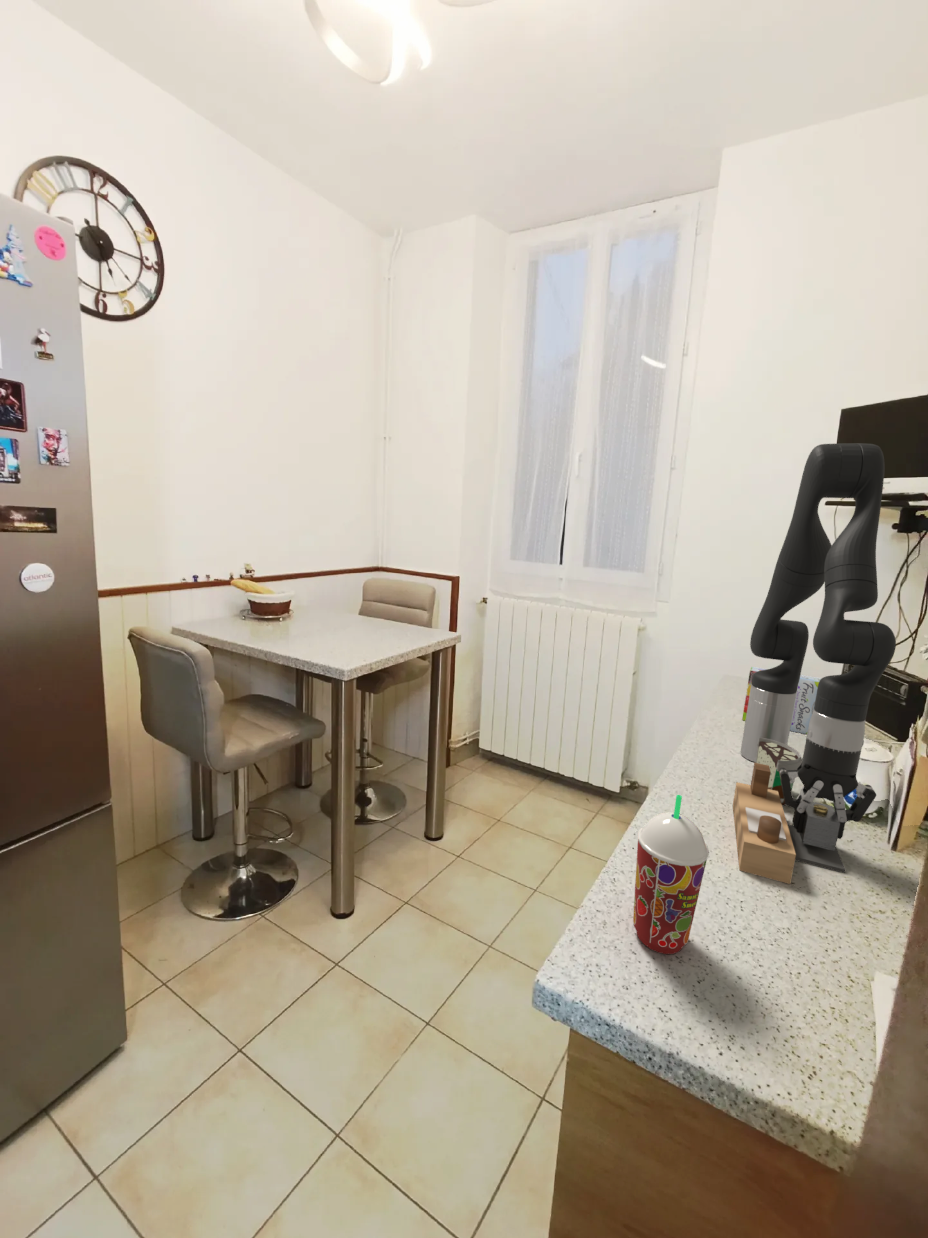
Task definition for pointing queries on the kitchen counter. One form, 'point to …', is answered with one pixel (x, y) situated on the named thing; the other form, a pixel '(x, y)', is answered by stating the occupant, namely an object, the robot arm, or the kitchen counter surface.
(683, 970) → the kitchen counter surface
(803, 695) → the snack box
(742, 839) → the plane body
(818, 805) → the grey box
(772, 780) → the food container
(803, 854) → the mat
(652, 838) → the smoothie
